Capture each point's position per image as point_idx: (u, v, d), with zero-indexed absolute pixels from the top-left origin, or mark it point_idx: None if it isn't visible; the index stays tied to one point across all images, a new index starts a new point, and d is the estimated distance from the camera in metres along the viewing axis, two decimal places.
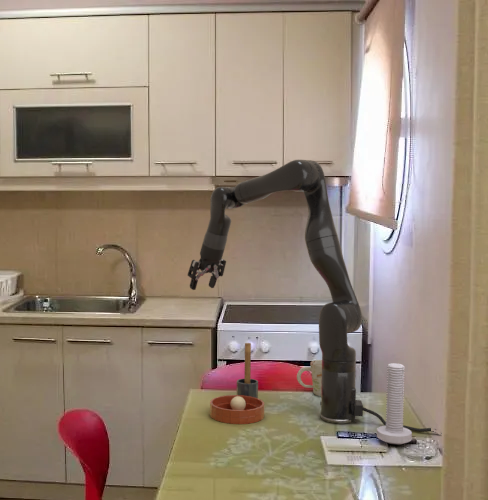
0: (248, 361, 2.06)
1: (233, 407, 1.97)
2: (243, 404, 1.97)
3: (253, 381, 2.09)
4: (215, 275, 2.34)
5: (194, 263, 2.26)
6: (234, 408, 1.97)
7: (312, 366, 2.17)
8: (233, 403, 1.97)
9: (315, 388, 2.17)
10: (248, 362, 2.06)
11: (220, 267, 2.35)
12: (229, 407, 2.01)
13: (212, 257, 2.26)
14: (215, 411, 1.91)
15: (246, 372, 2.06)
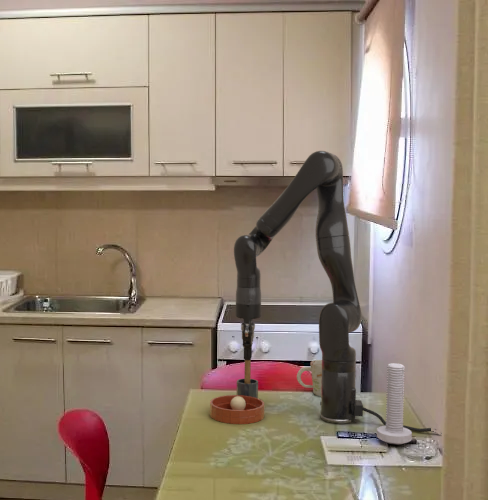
0: (248, 361, 2.06)
1: (233, 407, 1.97)
2: (243, 404, 1.97)
3: (253, 381, 2.09)
4: None
5: None
6: (234, 408, 1.97)
7: (312, 366, 2.17)
8: (233, 403, 1.97)
9: (315, 388, 2.17)
10: (248, 362, 2.06)
11: None
12: (229, 407, 2.01)
13: None
14: (215, 411, 1.91)
15: (246, 372, 2.06)
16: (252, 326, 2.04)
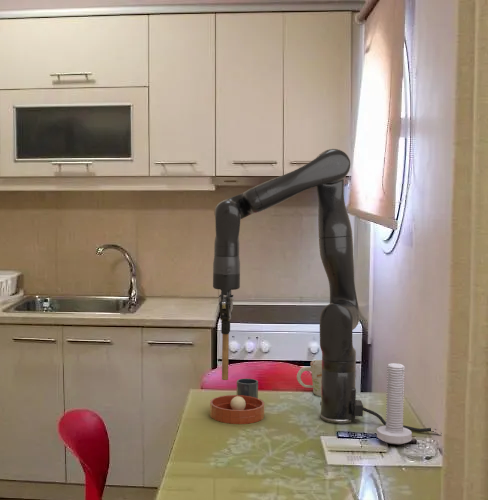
0: (226, 335, 1.94)
1: (233, 407, 1.97)
2: (243, 404, 1.97)
3: (253, 381, 2.09)
4: None
5: None
6: (234, 408, 1.97)
7: (312, 366, 2.17)
8: (233, 403, 1.97)
9: (315, 388, 2.17)
10: (226, 336, 1.94)
11: None
12: (229, 407, 2.01)
13: None
14: (215, 411, 1.91)
15: (224, 347, 1.94)
16: (230, 298, 1.92)
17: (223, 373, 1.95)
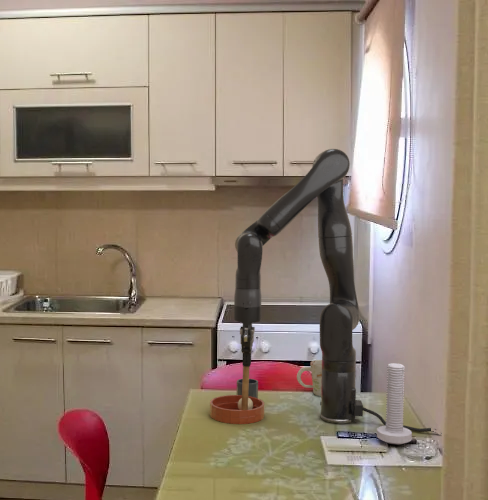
0: (247, 368, 1.93)
1: None
2: (252, 403, 1.98)
3: (253, 381, 2.09)
4: None
5: None
6: (248, 408, 1.96)
7: (312, 366, 2.17)
8: None
9: (315, 388, 2.17)
10: (247, 369, 1.93)
11: None
12: (229, 407, 2.01)
13: None
14: (215, 411, 1.91)
15: (245, 379, 1.93)
16: (251, 330, 1.91)
17: (243, 405, 1.94)
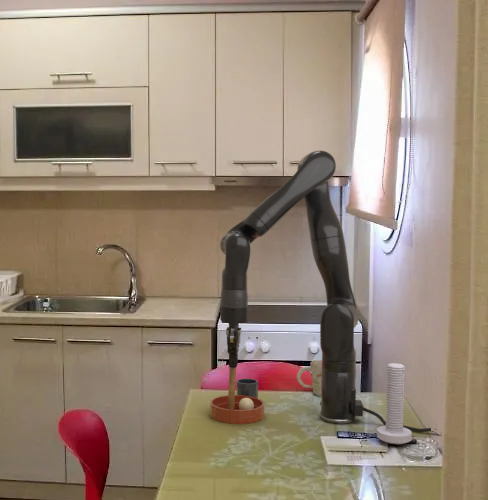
0: (234, 369, 1.91)
1: None
2: (253, 405, 1.97)
3: (253, 381, 2.09)
4: None
5: None
6: None
7: (312, 366, 2.17)
8: (248, 406, 1.95)
9: (315, 388, 2.17)
10: (234, 370, 1.91)
11: None
12: None
13: None
14: (215, 411, 1.91)
15: (231, 381, 1.92)
16: (238, 331, 1.89)
17: (230, 407, 1.92)
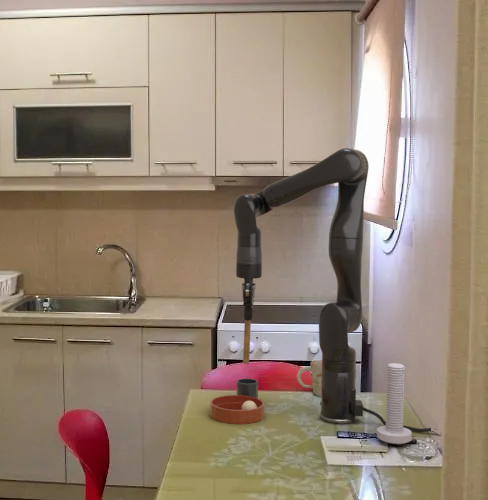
0: (249, 321, 2.05)
1: None
2: None
3: (253, 381, 2.09)
4: None
5: None
6: None
7: (312, 366, 2.17)
8: None
9: (315, 388, 2.17)
10: (249, 322, 2.05)
11: None
12: (229, 407, 2.01)
13: None
14: (215, 411, 1.91)
15: (246, 333, 2.06)
16: (253, 286, 2.03)
17: (245, 357, 2.06)
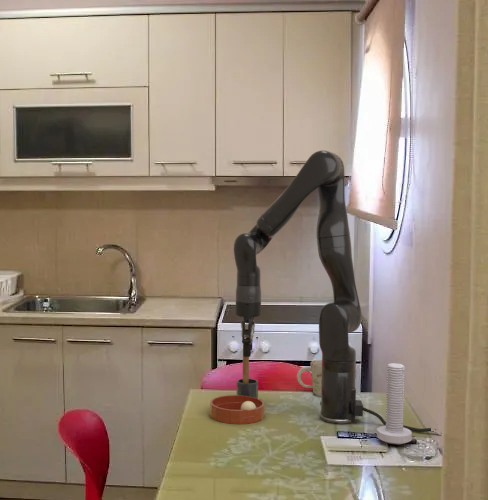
0: (247, 361, 2.06)
1: None
2: None
3: (253, 381, 2.09)
4: None
5: None
6: None
7: (312, 366, 2.17)
8: None
9: (315, 388, 2.17)
10: (247, 362, 2.06)
11: None
12: (229, 407, 2.01)
13: None
14: (215, 411, 1.91)
15: (245, 372, 2.07)
16: (252, 324, 2.04)
17: None
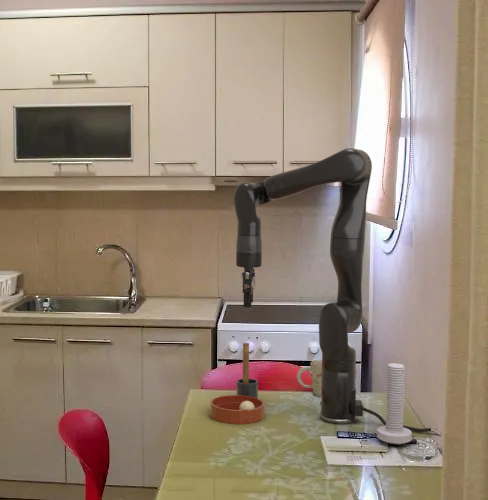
0: (247, 361, 2.06)
1: None
2: None
3: (253, 381, 2.09)
4: None
5: None
6: None
7: (312, 366, 2.17)
8: None
9: (315, 388, 2.17)
10: (247, 362, 2.06)
11: None
12: (229, 407, 2.01)
13: None
14: (215, 411, 1.91)
15: (245, 372, 2.07)
16: (253, 275, 2.03)
17: None
